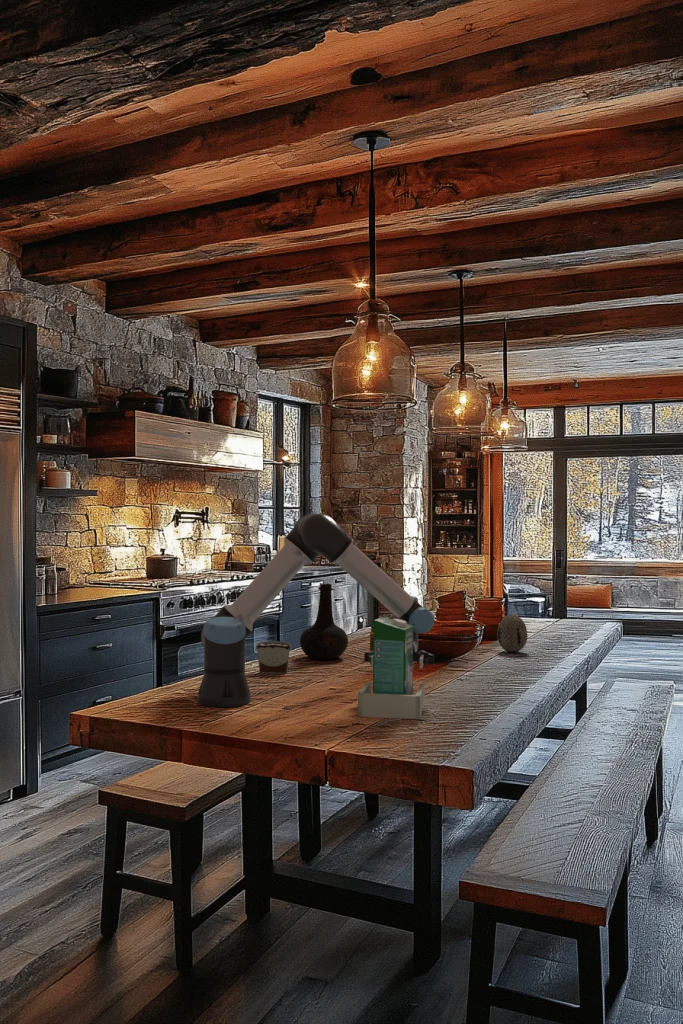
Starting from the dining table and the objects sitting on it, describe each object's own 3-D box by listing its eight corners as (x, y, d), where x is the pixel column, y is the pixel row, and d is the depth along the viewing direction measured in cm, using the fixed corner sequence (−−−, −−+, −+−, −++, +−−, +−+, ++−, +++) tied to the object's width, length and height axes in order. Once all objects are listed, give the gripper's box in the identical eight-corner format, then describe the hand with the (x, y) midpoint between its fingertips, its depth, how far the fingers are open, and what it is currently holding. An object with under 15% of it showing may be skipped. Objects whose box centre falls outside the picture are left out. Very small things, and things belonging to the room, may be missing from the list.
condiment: (366, 657, 313) (366, 625, 313) (373, 654, 321) (373, 623, 321) (384, 659, 310) (384, 627, 310) (391, 655, 318) (391, 624, 318)
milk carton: (404, 714, 223) (405, 621, 223) (372, 711, 226) (373, 619, 226) (412, 707, 232) (413, 617, 232) (381, 704, 234) (382, 616, 235)
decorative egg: (532, 654, 323) (533, 615, 323) (505, 655, 320) (505, 616, 320) (518, 649, 334) (518, 612, 335) (492, 650, 331) (492, 613, 331)
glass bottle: (290, 659, 308) (291, 583, 309) (318, 652, 323) (318, 581, 323) (330, 664, 298) (330, 586, 299) (356, 657, 313) (357, 583, 313)
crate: (419, 719, 217) (419, 696, 217) (357, 716, 220) (358, 693, 220) (424, 704, 234) (424, 683, 234) (366, 702, 237) (367, 681, 237)
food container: (294, 670, 286) (294, 641, 286) (291, 673, 280) (291, 644, 280) (258, 669, 287) (259, 640, 287) (255, 672, 281) (255, 643, 281)
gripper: (444, 664, 250) (441, 677, 229) (362, 661, 254) (352, 674, 233) (444, 639, 250) (441, 650, 229) (362, 637, 254) (352, 647, 233)
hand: (396, 662), depth 231 cm, fingers open, 13 cm apart
